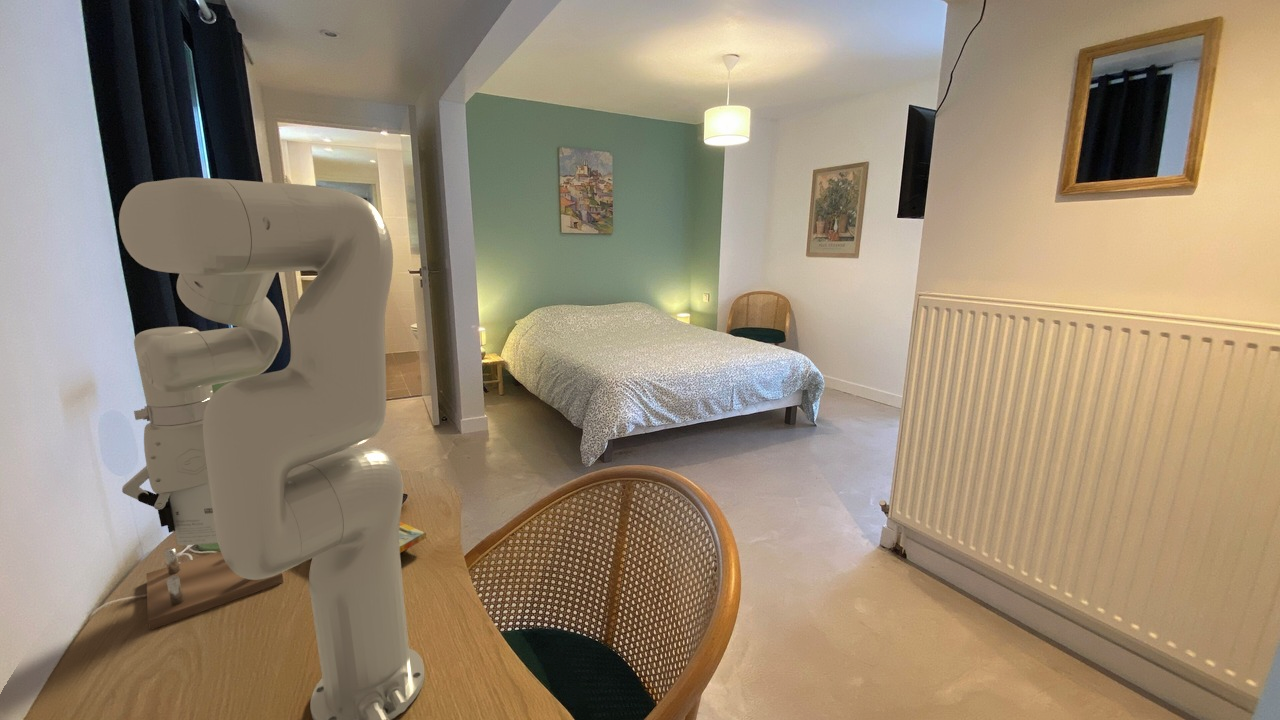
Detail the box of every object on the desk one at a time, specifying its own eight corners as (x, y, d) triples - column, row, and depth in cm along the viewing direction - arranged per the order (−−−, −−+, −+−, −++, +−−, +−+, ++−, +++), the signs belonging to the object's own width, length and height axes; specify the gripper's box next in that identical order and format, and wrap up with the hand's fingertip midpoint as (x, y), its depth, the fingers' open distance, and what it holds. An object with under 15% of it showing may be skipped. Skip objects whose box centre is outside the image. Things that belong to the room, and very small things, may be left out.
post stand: (283, 582, 86) (278, 552, 85) (149, 629, 75) (142, 596, 74) (268, 544, 96) (263, 516, 95) (148, 581, 85) (141, 551, 84)
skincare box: (176, 547, 81) (160, 474, 78) (193, 531, 85) (178, 461, 82) (223, 542, 82) (209, 470, 79) (237, 527, 86) (224, 458, 84)
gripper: (99, 432, 70) (127, 551, 74) (258, 405, 82) (275, 510, 86) (101, 417, 76) (127, 529, 80) (251, 394, 87) (267, 493, 91)
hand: (204, 518), depth 83 cm, fingers closed on skincare box, 7 cm apart
